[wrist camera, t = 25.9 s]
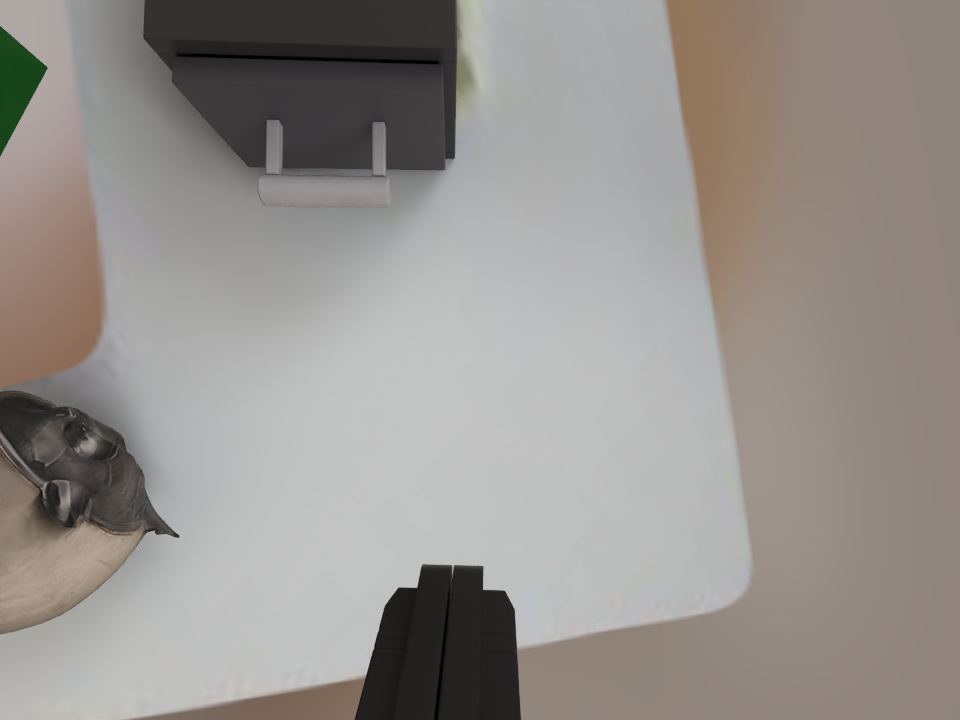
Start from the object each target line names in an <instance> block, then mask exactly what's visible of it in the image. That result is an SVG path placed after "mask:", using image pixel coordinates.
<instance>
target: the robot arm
mask: <svg viewBox="0 0 960 720" xmlns="http://www.w3.org/2000/svg"><path fill="white" fill-rule="evenodd" d="M355 720H521V716H520V697H519V679H518V662H517V643H516V626H515V609H514V608H513V606H512V604H511V602H510V600H509V598H508V596H507V594H506V592H505V591H498V590H483V566H463V565H454V570H453V579H452V565H426V564H423V565H422V567H421V572H420V577H419V582H418V587H417V588H398V589H397V590H396V592H395V593H394V594H393V596H392V597H391V598H390V600H389V601H388V602H387V604H386V605H385V608H384V612H383V615H382V619H381V623H380V627H379V632H378V634H377V638H376V642H375V647H374V650H373V653H372V657H371V660H370V664H369V668H368V672H367V675H366V679H365V683H364V687H363V690H362V694H361V698H360V702H359V706H358V709H357V713H356V717H355Z"/></svg>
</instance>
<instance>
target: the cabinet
mask: <svg viewBox="0 0 960 720" xmlns="http://www.w3.org/2000/svg"><path fill="white" fill-rule="evenodd" d="M144 39H145V40H146V42H147V43H148V44H149V45H150V46H151V47H152V48H153V50H154V51H155V52H156V53H157V54H158V55H159V57H160V58H161V59H162V60H163V61H164V62H165V64H166V65H167V66H168V67H169V68H170V69H171V70H172V72H173V57H174V56H180V57H212V55H211V54H224V55H257V56H290V57H323V58H355V59H388V60H421V61H432V64H442V65H443V86H444V130H445V159H454V158H455V125H456V71H457V19H456V0H145V10H144Z"/></svg>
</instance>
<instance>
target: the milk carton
mask: <svg viewBox="0 0 960 720" xmlns="http://www.w3.org/2000/svg"><path fill="white" fill-rule="evenodd" d="M46 70H47V67H46V66H45V65H44V64H43V63H42V62H40V61H39V60H38V59H37V58H36V57H35V56H34V55H33V54H31V53H30V52H29V51H28V50H27V49H26V48H25V47H24V46H22V45H21V44H20V43H19V42H18V41H17V40H15V39H14V38H13V37H12V36H11V35H10V34H8V33H7V32H6V31H5V30H4V29H3V28H2V27H1V26H0V156H1V154H2V152H3V150H4V148H5V146H6V145H7V143H8V141H9V139H10V137H11V135H12V133H13V132H14V130H15V128H16V126H17V124H18V122H19V120H20V119H21V117H22V115H23V113H24V111H25V109H26V107H27V106H28V104H29V102H30V100H31V98H32V96H33V94H34V93H35V91H36V89H37V87H38V85H39V83H40V81H41V80H42V78H43V76H44V74H45V72H46Z"/></svg>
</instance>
